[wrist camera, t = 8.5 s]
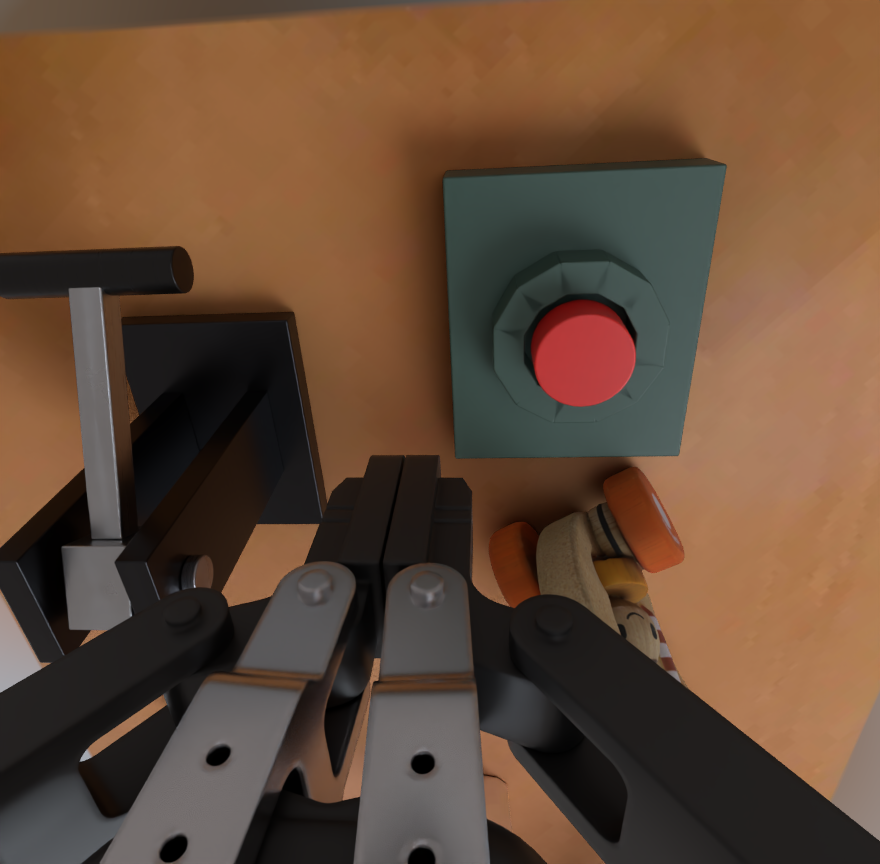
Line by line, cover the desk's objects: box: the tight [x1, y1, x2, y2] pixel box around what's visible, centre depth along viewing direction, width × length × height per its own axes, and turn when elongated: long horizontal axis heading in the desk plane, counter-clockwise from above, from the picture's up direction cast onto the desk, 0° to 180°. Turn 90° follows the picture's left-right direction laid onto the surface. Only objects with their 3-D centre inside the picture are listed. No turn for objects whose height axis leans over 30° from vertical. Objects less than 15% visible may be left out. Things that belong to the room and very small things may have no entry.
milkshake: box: [483, 775, 513, 833], centre depth 39 cm, size 4×5×10 cm
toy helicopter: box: [489, 467, 688, 688], centre depth 28 cm, size 8×21×14 cm, turn 34°
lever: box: [0, 246, 194, 630], centre depth 20 cm, size 12×6×2 cm, turn 4°
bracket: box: [0, 312, 327, 663], centre depth 25 cm, size 11×8×13 cm
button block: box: [443, 158, 727, 459], centre depth 25 cm, size 12×10×4 cm
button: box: [531, 300, 636, 407], centre depth 23 cm, size 4×4×2 cm
